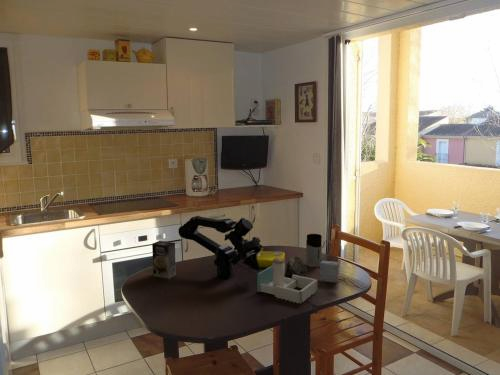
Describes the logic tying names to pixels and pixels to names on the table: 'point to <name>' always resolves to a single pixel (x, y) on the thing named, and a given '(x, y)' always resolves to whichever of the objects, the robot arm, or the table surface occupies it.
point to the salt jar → (278, 272)
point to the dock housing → (294, 295)
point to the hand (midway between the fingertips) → (259, 269)
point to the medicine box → (329, 271)
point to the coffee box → (164, 259)
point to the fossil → (296, 267)
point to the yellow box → (268, 258)
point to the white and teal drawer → (271, 281)
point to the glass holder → (314, 250)
